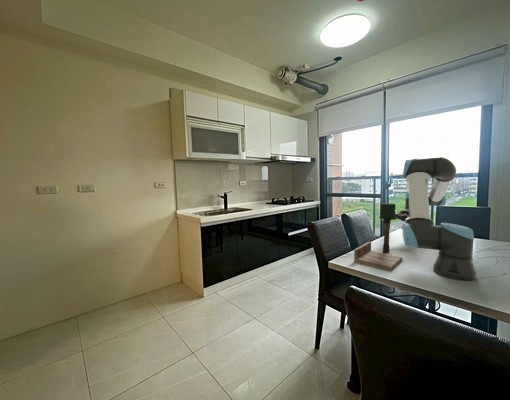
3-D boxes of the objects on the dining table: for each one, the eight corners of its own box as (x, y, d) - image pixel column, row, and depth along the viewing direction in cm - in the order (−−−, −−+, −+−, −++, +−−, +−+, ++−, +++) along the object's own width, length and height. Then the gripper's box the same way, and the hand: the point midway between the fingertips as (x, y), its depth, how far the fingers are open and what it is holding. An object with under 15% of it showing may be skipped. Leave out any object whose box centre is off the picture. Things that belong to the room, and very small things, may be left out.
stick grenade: (397, 254, 134) (399, 204, 131) (382, 255, 134) (384, 204, 131) (389, 250, 142) (391, 202, 140) (375, 250, 143) (377, 203, 140)
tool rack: (368, 253, 138) (368, 241, 137) (402, 260, 125) (402, 248, 124) (354, 261, 124) (354, 249, 124) (390, 270, 111) (391, 257, 111)
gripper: (427, 223, 147) (416, 228, 134) (386, 218, 166) (373, 222, 153) (428, 211, 146) (417, 216, 133) (386, 208, 165) (373, 211, 152)
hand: (393, 219), depth 143 cm, fingers open, 13 cm apart
